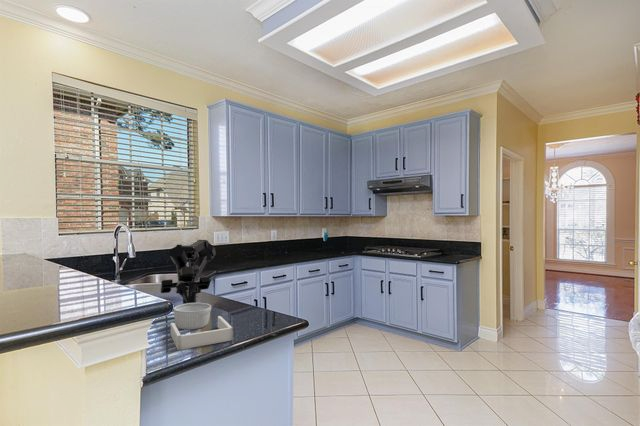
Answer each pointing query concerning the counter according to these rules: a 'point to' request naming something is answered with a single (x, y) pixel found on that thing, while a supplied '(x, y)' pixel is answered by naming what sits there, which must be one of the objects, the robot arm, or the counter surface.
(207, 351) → the counter surface
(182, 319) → the ramekin
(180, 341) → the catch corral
